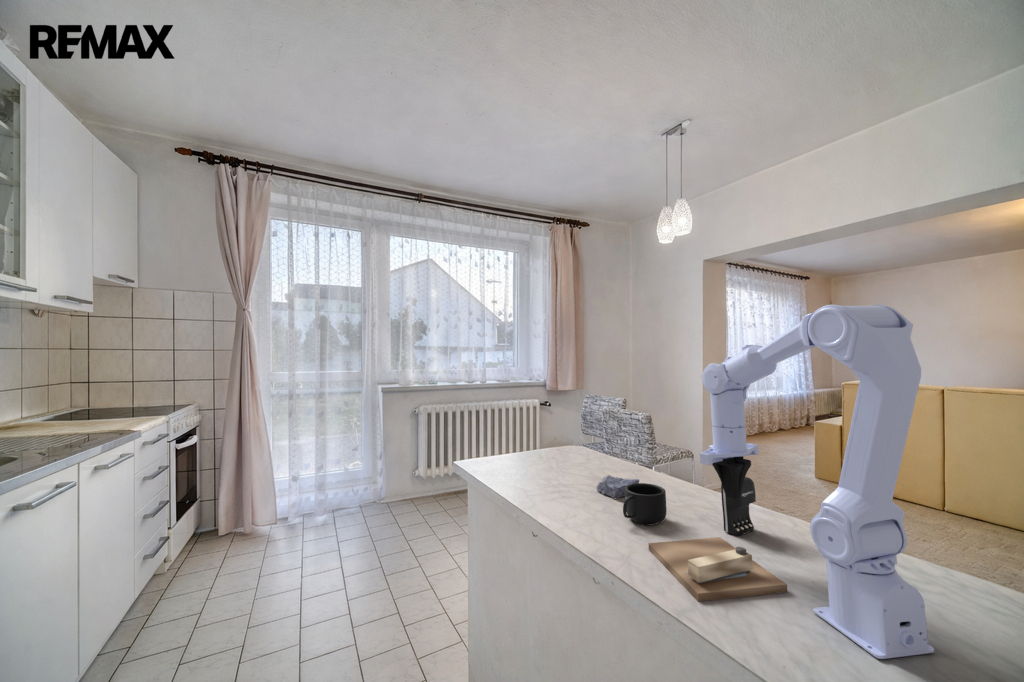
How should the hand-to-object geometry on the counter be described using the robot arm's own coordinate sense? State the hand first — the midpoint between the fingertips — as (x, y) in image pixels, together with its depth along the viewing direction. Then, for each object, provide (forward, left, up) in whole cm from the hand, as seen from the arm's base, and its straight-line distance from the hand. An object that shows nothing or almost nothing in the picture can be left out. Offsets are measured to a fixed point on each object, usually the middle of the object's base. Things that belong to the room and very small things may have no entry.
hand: (732, 497), depth 76 cm
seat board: (-5, +8, -10) cm, 14 cm away
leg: (-9, +9, -9) cm, 15 cm away
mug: (+17, +11, -11) cm, 23 cm away
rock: (+37, +10, -11) cm, 40 cm away
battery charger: (+8, -7, -11) cm, 15 cm away
